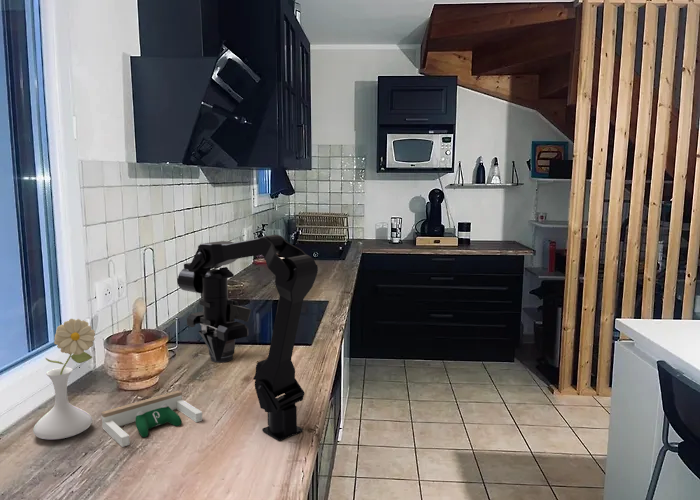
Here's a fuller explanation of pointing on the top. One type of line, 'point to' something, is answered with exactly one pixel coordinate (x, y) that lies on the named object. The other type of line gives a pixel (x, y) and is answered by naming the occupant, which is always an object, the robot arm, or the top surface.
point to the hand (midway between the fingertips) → (217, 360)
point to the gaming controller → (156, 419)
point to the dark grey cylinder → (226, 351)
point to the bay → (129, 412)
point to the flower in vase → (64, 415)
